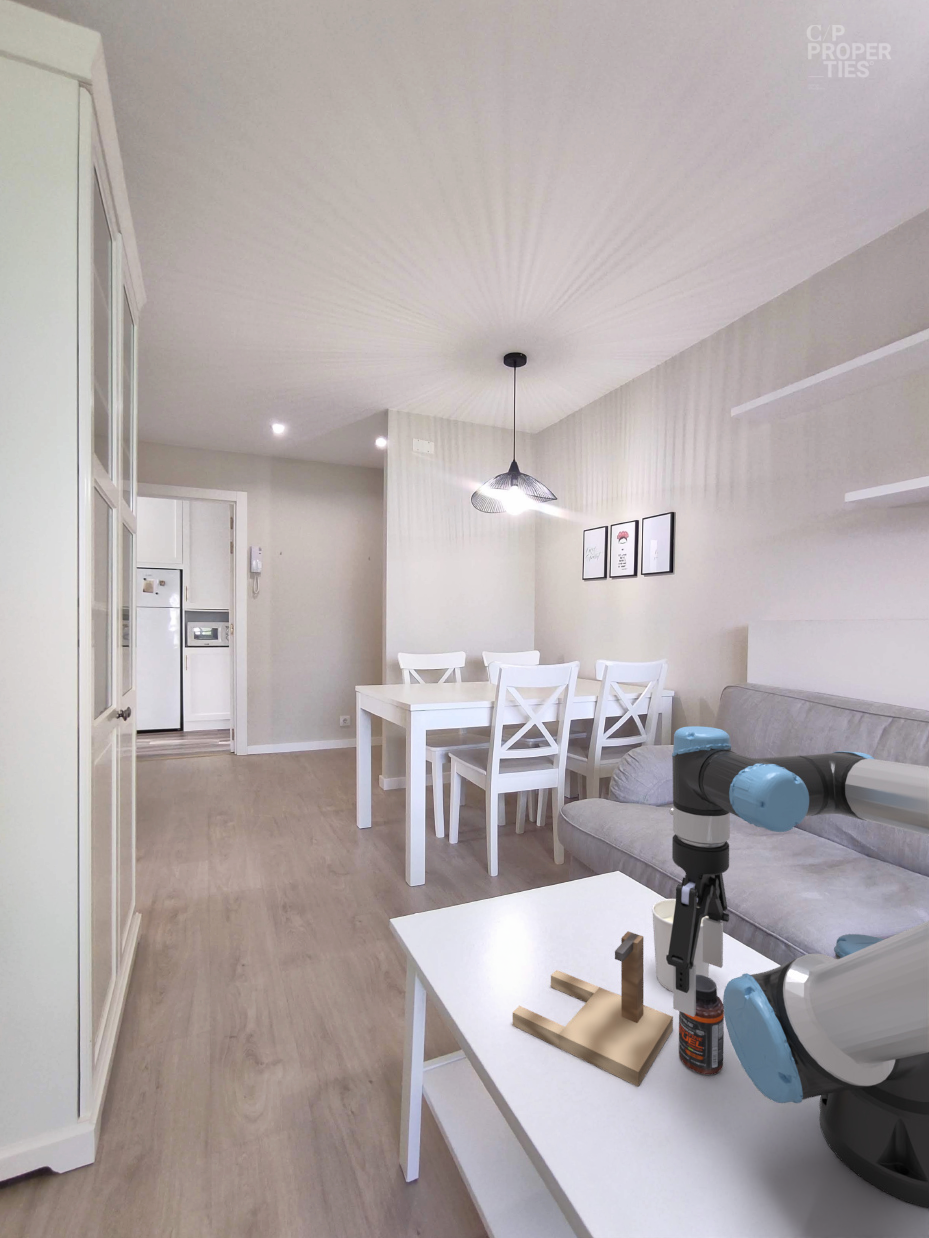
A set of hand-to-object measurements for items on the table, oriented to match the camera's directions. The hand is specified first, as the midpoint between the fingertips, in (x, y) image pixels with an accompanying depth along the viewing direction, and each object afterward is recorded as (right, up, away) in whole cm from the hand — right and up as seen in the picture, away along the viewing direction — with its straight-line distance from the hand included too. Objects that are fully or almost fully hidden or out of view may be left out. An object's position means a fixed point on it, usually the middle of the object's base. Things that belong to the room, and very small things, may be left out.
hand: (699, 986), depth 85 cm
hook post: (-9, -8, +5) cm, 13 cm away
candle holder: (+4, -11, +18) cm, 22 cm away
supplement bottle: (0, -11, 0) cm, 11 cm away
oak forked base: (-14, -10, +7) cm, 19 cm away
